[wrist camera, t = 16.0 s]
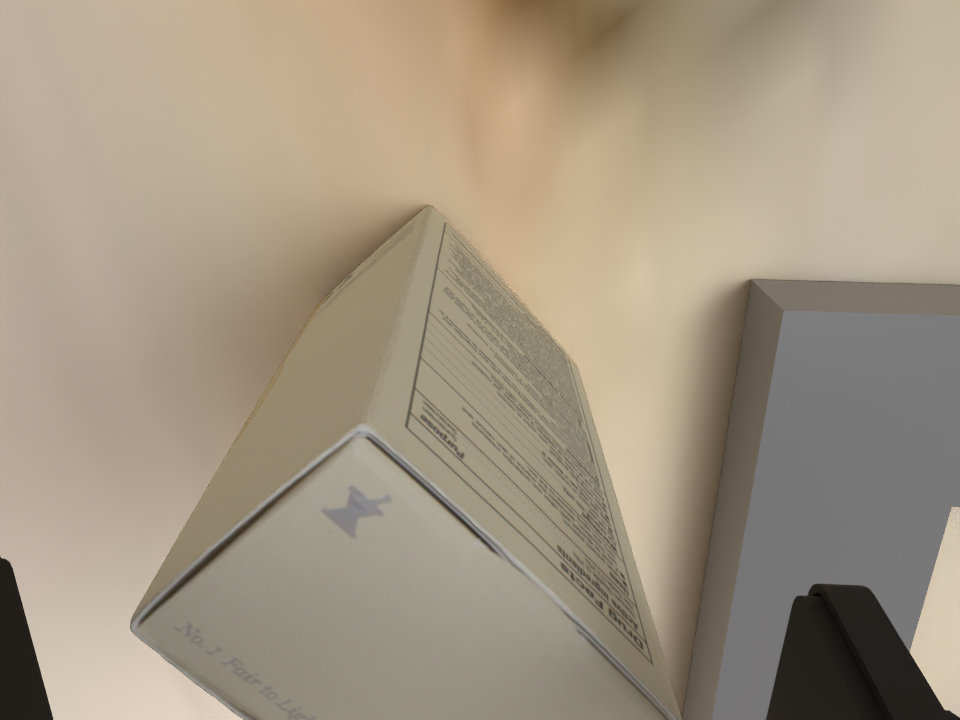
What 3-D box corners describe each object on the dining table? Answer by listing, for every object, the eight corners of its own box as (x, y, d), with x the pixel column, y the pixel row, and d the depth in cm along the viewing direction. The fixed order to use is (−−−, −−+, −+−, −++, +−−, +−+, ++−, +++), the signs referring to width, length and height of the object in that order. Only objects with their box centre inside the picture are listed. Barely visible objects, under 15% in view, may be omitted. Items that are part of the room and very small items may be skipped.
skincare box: (312, 305, 21) (92, 620, 10) (437, 194, 20) (351, 404, 8) (471, 464, 23) (442, 891, 11) (594, 370, 21) (698, 742, 10)
